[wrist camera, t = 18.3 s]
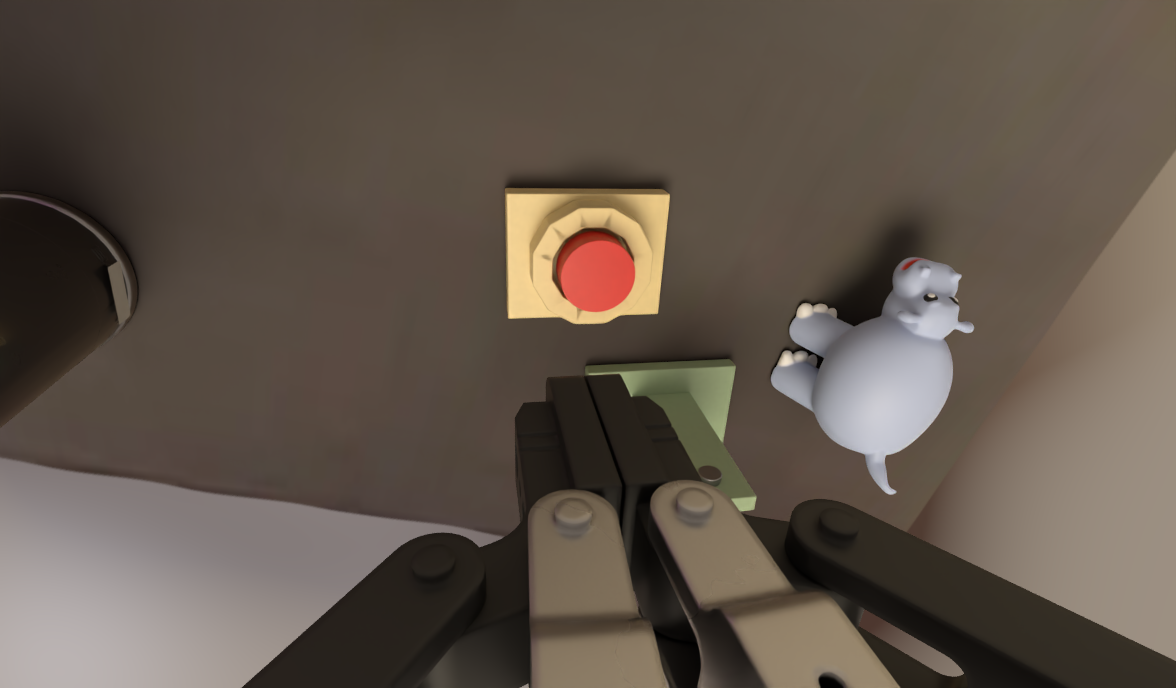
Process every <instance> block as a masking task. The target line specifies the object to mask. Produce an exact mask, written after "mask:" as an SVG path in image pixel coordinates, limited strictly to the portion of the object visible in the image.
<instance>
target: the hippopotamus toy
mask: <svg viewBox="0 0 1176 688" xmlns="http://www.w3.org/2000/svg"><path fill="white" fill-rule="evenodd" d="M961 276H962V275H961V274H958V273H956V272H955V271H954V270H953V269H952V268H951V267H950V266H948V265H946V264H942V263H937V262H933V261H930V260H927V259H923V258H917V257H911V258H907V259H905V260H903V261H902V262H901V263H900V264H899V265H898V266H897V267H896V269H895V271H894V274H893V290H892V291H891V293H890V294H889V295H888V297H887V299H886V301H885V303H884V305H883V309H882V314H881V316H880V317H877V318H874V319H870V320H868V321H865V322H863V323H861V324H859V325H857V326H855V327H854V326H852V325H850V324H848V323H846V322H843V321H841V320H839V319H837V311H836V309H835V308H830V309H828V307H827V306H826V305H825V304H816V305H814V306H812V305H811V304H809V303H803V304H801V305H800V306H799V308H798V310H797V314H796V317H795V319H794V320H793V321H792V323H791V325H790V329H789V332H790V336H791V338H792V340H793V341H794V342H795V343H797V344H799V345H800V346H802V347H804V348H806V349H808V350H810V351H812V352H814V353H816V354H817V355H819V356H821V357H823V358H824V360H823V362H822V364H821V366H820V369H818V368H816V365H817V357H816V355H810V356H808V353H807V352H805V351H797V352H795V353H794V354H792V352H791V351H784V352H783V353H782V355H781V357H780V359H779V362H778V364H777V366H776V367H775V368H774V370H773V372H772V375H771V383H772V385H773V387H774V388H775V389H777V390H778V391H780V392H781V393H783V394H785V395H786V396H788V397H790V398H791V399H793V400H795V401H796V402H798V403H800V404H801V405H803V406H805V407H806V408H808V409H810V410H811V411H813V412H814V413H815V416H816V418H817V421H818V423H819V424H820V426H821V428H822V429H823V431H824V432H825V433H826V434H827V435H828V436H829V437H830V438H831V439H832V440H833V441H835V442H836V443H838V444H840V445H841V446H843V447H846V448H848V449H851V450H853V451H856V452H860V453H863V454H865V458H866V464H867V468H868V470H869V472H870V474H871V476H872V477H873V479H874V480H875V482H876V483H877V484H878V485H879V486H880V487H881V489H882V490H883V491H885V492H886V493H888V494H895V493H896V492H897V491H896V490H893V489H892V488H891V487H890V486H889V485H888V481H887V472H886V467H885V456H886V455H890V454H894V453H896V452H899V451H900V450H902V449H904V448H905V447H907V446H908V445H909V444H911V443H912V442H913V441H914V440H916V439H917V438H918V437H919V436H920V435H921V434H922V433H923V432H924V431H925V430H926V429H927V428H928V427H929V426H930V425H931V423H932V422H933V421H934V420H935V418H936V417H937V416H938V414H939V413H940V411H941V409H942V408H943V406H944V404H945V402H946V399H947V397H948V394H949V391H950V388H951V384H952V377H953V363H952V357H951V353H950V350H949V347H948V345H947V343H946V341H945V340H944V337H946V336H947V335H948V334H949V333H950V332H951V331H952V330H954V329H958V330H960V331H962V332H965V333H970V332H972V331H973V330H974V326H973V324H972V323H970V322H968V321H964V322H959V321H958V312H959V306H958V300H957V299H956V298H955V297H954V296H955V294H956V292H957V289H958V281H959V279H960V278H961Z"/></svg>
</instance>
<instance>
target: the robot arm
mask: <svg viewBox="0 0 1176 688" xmlns="http://www.w3.org/2000/svg"><path fill="white" fill-rule="evenodd" d="M136 303H137V282H136V277H135V273H134V271H133V268H132V265H131V263H130V261H129V259H128V257H127V255H126V254H125V252H124V250H123V249H122V248H121V246H120V245H119V244H118V242H117V241H116V240H115V239H114V238H113V236H112V235H111V234H110V233H109V232H108V231H107V230H106V229H104V228H103V227H102V226H101V225H100V224H99V223H97V222H96V221H95V220H93V219H92V218H91V217H89V216H88V215H86V214H84V213H83V212H81V211H80V210H78V209H76V208H74V207H72V206H70V205H68V204H66V203H63V202H61V201H58V200H56V199H53V198H50V197H46V196H43V195H39V194H34V193H28V192H21V191H0V428H1V427H2V426H3V425H5V424H6V423H7V422H8V421H9V420H11V419H12V418H13V417H14V416H15V415H17V414H18V413H19V412H20V411H21V410H23V409H24V408H25V407H26V406H28V405H29V404H30V403H31V402H32V401H34V400H35V399H36V398H37V397H38V396H40V395H41V394H42V393H43V392H44V391H46V390H47V389H48V388H49V387H50V386H52V385H53V384H54V383H55V382H56V381H58V380H59V379H60V378H61V377H63V376H64V375H65V374H66V373H67V372H69V371H70V370H71V369H72V368H73V367H75V366H76V365H77V364H78V363H80V362H81V361H82V360H83V359H84V358H85V357H87V356H88V355H89V354H90V353H92V352H93V351H94V350H95V349H96V348H98V347H100V346H102V345H103V344H105V343H107V342H108V341H109V340H110V339H112V338H113V337H114V336H115V335H116V334H118V333H119V332H120V331H121V330H122V329H123V328H124V327H125V326H126V324H127V323H128V322H129V320H130V318H131V317H132V315H133V312H134V310H135V306H136ZM515 471H516V487H517V496H518V505H519V512H520V522H521V523H520V524H519V526H518V527H517V528H516V529H515V530H514V531H512V532H511V533H510V534H509V535H507V536H505V537H504V538H502V539H500V540H498V541H496V542H493V543H491V544H488V545H485V546H483V547H480V548H479V547H478V546H477V545H476V544H475V543H474V542H473V541H471V540H469V539H468V538H466V537H463V536H461V535H457V534H452V533H433V534H427V535H424V536H420V537H417V538H415V539H412V540H410V541H408V542H407V543H405V544H403V545H402V546H400V547H399V548H398V549H397V550H396V551H394V552H393V553H392V554H391V555H390V556H389V557H388V558H386V559H385V560H384V561H383V562H382V563H381V564H380V565H379V566H377V567H376V568H375V569H374V570H373V571H372V572H371V573H370V574H368V576H366V577H365V578H364V579H363V580H362V581H361V582H359V583H358V584H357V585H356V586H355V587H354V588H353V589H352V590H351V591H349V592H348V593H347V594H346V595H345V596H344V597H343V598H342V599H340V600H339V601H338V602H337V603H336V604H335V605H334V606H333V607H332V608H331V609H329V610H328V611H327V612H326V613H325V614H324V615H322V616H321V618H319V619H318V620H317V621H316V622H315V623H314V624H313V625H311V626H310V627H309V628H308V629H307V630H306V631H305V632H303V633H302V634H301V635H300V636H299V637H298V638H297V639H296V640H295V641H293V642H292V643H291V644H290V645H289V646H288V647H287V648H286V649H284V650H283V651H282V652H281V653H280V654H279V655H278V656H277V657H275V658H274V659H273V660H272V661H271V662H270V663H269V664H268V665H266V666H265V667H264V668H263V669H262V670H261V671H260V672H259V673H257V674H256V675H255V676H254V677H253V678H252V679H251V680H250V681H249V682H247V683H246V684H245V685H244V686H243V687H242V688H520V687H522V686H524V685H526V684H528V687H529V688H1176V661H1174V660H1172V659H1170V658H1168V657H1166V656H1164V655H1162V654H1160V653H1158V652H1155V651H1153V650H1151V649H1149V648H1147V647H1145V646H1143V645H1141V644H1139V643H1137V642H1135V641H1133V640H1130V639H1128V638H1126V637H1124V636H1122V635H1120V634H1118V633H1116V632H1114V631H1112V630H1109V629H1107V628H1105V627H1103V626H1101V625H1099V624H1097V623H1095V622H1093V621H1091V620H1088V619H1086V618H1084V617H1082V616H1080V615H1078V614H1076V613H1074V612H1072V611H1070V610H1068V609H1066V608H1063V607H1061V606H1059V605H1057V604H1055V603H1053V602H1051V601H1049V600H1047V599H1045V598H1043V597H1040V596H1038V595H1036V594H1034V593H1032V592H1030V591H1028V590H1026V589H1024V588H1021V587H1020V586H1017V585H1015V584H1013V583H1011V582H1009V581H1007V580H1005V579H1003V578H1001V577H998V576H996V575H994V574H992V573H990V572H988V571H986V570H984V569H982V568H980V567H978V566H975V565H973V564H971V563H969V562H967V561H965V560H963V559H961V558H959V557H957V556H955V555H953V554H950V553H948V552H946V551H944V550H942V549H940V548H938V547H936V546H933V545H931V544H929V543H927V542H925V541H923V540H921V539H919V538H917V537H915V536H913V535H911V534H909V533H906V532H904V531H902V530H900V529H898V528H896V527H894V526H892V525H890V524H888V523H886V522H883V521H881V520H879V519H877V518H875V517H873V516H871V515H869V514H867V513H865V512H863V511H860V510H858V509H856V508H854V507H852V506H849V505H847V504H844V503H841V502H838V501H833V500H826V499H814V500H808V501H805V502H802V503H800V504H799V505H797V506H796V507H795V508H794V510H793V511H792V515H791V518H790V522H787V521H780V520H774V519H767V518H760V517H754V516H749V515H746V514H742V513H741V512H740V511H739V509H738V508H737V506H736V505H735V504H734V502H733V501H732V500H731V499H730V497H729V496H727V495H726V494H725V493H724V492H722V491H721V490H720V489H718V488H716V487H714V486H712V485H709V484H706V483H703V481H702V480H701V478H700V476H699V474H698V472H697V470H696V468H695V467H694V465H693V463H692V461H691V459H690V457H689V455H688V454H687V452H686V450H685V448H684V446H683V444H682V443H681V441H680V440H679V439H678V435H677V433H676V431H675V430H674V428H673V427H672V424H671V422H670V420H669V418H668V417H667V415H666V413H665V411H664V409H663V408H662V407H660V406H659V405H658V404H656V403H655V402H654V401H652V400H651V399H650V398H649V397H647V396H634V397H631V395H630V393H629V391H628V389H627V387H626V385H625V382H624V380H623V378H622V376H621V375H620V374H603V375H585V376H584V377H583V376H565V377H548V378H547V381H546V402H530V403H523V405H522V406H521V408H520V410H519V412H518V413H517V415H516V417H515ZM634 591H635V594H636V597H637V601H638V604H639V607H638V609H637V605H636V600H635V595H634ZM864 609H865V610H867V611H869V612H871V613H873V614H874V615H876V616H878V617H880V618H881V619H883V620H885V621H887V622H888V623H890V624H892V625H894V626H895V627H897V628H899V629H901V630H902V631H904V632H906V633H908V634H909V635H911V636H913V637H915V638H917V639H918V640H920V641H922V642H924V643H925V644H927V645H929V646H931V647H932V648H934V649H936V650H938V651H939V652H941V653H943V654H945V655H946V656H948V657H950V658H951V659H952V660H953V661H954V662H955V663H956V664H957V665H958V666H959V667H960V668H961V669H962V671H963V672H964V674H963V675H961V676H957V677H951V676H945V675H942V674H940V673H938V672H936V671H934V670H932V669H930V668H929V667H927V666H925V665H924V664H922V663H920V662H919V661H917V660H915V659H913V658H912V657H910V656H909V655H907V654H905V653H903V652H902V651H900V650H898V649H897V648H895V647H893V646H892V645H890V644H888V643H886V642H885V641H883V640H881V639H879V638H878V637H876V636H875V635H873V634H871V633H869V632H868V631H866V630H864V629H863V628H861V627H859V623H860V620H861V617H862V614H863V612H864Z"/></svg>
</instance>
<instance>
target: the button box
mask: <svg viewBox="0 0 1176 688" xmlns="http://www.w3.org/2000/svg"><path fill="white" fill-rule="evenodd" d="M669 200H670V194H668V193H667V192H666V191H664V190H663V189H575V188H505V225H506V288H507V313H508V318H541V317H562V318H564V319H566V320H568V321H570V322H572V323H574V324H594V323H605V322H609V321H610V320H612V319H614V318H616V317H618V316H619V315H637V314H658V307H659V297H660V288H661V278H662V268H663V259H664V249H665V239H666V229H667V220H668V210H669ZM588 231H600V232H605V233H607V234H610V235H612V236H613V237H615V238H616V239H617V240H618V241H619V242H620V243H621V244H622V246H623V247H624V248H625V249H626V251H627V252H628V253H629V255H630V256H631V258H632V260H633V263H634V266H635V281H634V285H633V287H632V290H631V291H630V293H629V295H628V296H627V297H626V298H625V300H624V301H623V302H621V303H620V304H619V305H617V306H616V307H614V308H612V309H610V310H607V311H602V312H588V311H584V310H581V309H579V308H577V307H576V306H574V305H573V304H572V303H570V301H569V300H568V299H567V298H566V296H565V295H564V293H563V290H562V288H561V285H560V283H559V280H558V277H557V272H556V264H557V259H558V256H559V253H560V251H561V250H562V248H563V247H564V245H565V244H566V243H567V242H568V241H569V240H570V239H572V238H573V237H575V236H577V235H579V234H581V233H584V232H588Z"/></svg>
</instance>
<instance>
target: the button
mask: <svg viewBox="0 0 1176 688" xmlns="http://www.w3.org/2000/svg"><path fill="white" fill-rule="evenodd" d="M556 272H557V277H558V280H559V283H560V285H561V288H562V290H563V293H564V295H565V296H566V298H567V299H568V300H569V301H570V303H572V304H573V305H574V306H576V307H577V308H579V309H581V310H584V311H588V312H602V311H607V310H610V309H612V308H614V307H616V306H617V305H619V304H620V303H621V302H623V301H624V300H625V298H626V297H627V296H628V295H629V293H630V291H631V290H632V287H633V285H634V281H635V266H634V263H633V260H632V258H631V256H630V255H629V253H628V252H627V251H626V249H625V248H624V247H623V246H622V244H621V243H620V242H619V241H618V240H617V239H616V238H615V237H613V236H612V235H610V234H607V233H605V232H600V231H588V232H584V233H581V234H579V235H577V236H575V237H573V238H572V239H570V240H569V241H568V242H567V243H566V244H565V245H564V247H563V248H562V250H561V251H560V253H559V256H558V259H557V264H556Z"/></svg>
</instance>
